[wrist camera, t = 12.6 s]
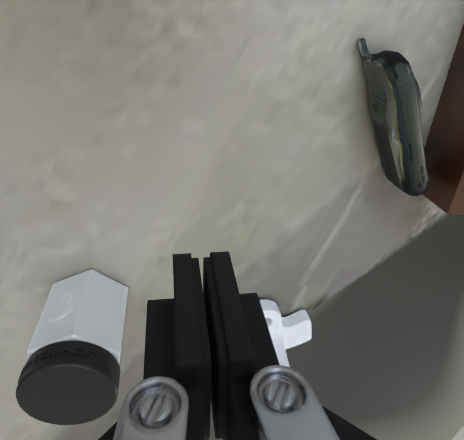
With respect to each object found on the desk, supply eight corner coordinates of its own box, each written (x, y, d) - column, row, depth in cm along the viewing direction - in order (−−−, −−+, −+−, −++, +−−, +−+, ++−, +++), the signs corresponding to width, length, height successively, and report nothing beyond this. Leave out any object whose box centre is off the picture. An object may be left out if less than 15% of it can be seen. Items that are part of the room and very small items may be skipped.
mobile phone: (438, 191, 36) (413, 33, 28) (409, 205, 37) (375, 53, 29) (409, 169, 41) (380, 26, 32) (383, 182, 41) (347, 43, 33)
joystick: (223, 348, 50) (253, 533, 33) (215, 306, 46) (245, 491, 29) (306, 331, 51) (378, 504, 34) (305, 288, 47) (386, 459, 30)
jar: (110, 259, 40) (92, 349, 30) (144, 311, 44) (138, 405, 34) (32, 288, 41) (-13, 387, 30) (73, 336, 45) (46, 438, 35)
